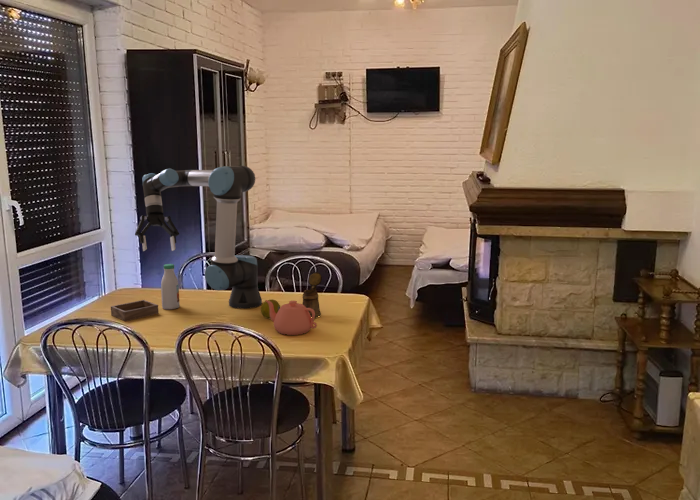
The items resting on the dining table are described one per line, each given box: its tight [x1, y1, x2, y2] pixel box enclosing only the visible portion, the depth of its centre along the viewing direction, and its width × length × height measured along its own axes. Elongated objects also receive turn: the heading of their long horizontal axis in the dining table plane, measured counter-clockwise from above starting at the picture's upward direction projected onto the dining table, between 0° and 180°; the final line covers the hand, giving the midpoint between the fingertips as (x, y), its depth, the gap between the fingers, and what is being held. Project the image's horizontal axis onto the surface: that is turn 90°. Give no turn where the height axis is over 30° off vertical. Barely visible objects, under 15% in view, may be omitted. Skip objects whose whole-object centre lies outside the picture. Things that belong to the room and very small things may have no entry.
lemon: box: [260, 299, 281, 320], centre depth 274 cm, size 11×8×8 cm
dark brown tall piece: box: [301, 271, 323, 317], centre depth 278 cm, size 9×14×18 cm, turn 164°
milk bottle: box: [160, 263, 181, 310], centre depth 288 cm, size 8×8×20 cm
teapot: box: [264, 299, 318, 336], centre depth 255 cm, size 22×16×12 cm
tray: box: [110, 299, 160, 322], centre depth 278 cm, size 13×16×4 cm
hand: (159, 250), depth 290 cm, fingers open, 13 cm apart
